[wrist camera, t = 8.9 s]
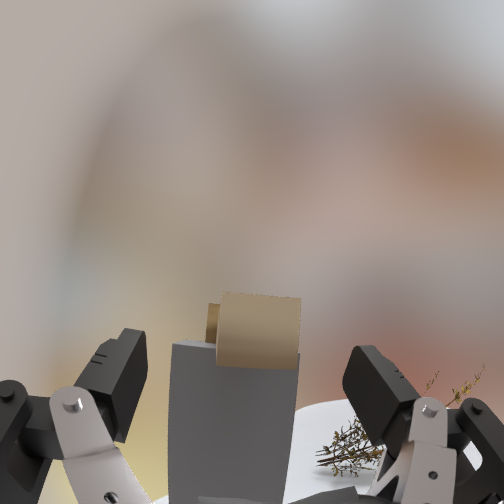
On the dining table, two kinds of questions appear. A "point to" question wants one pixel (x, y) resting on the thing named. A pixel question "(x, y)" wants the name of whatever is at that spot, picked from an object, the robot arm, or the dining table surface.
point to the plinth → (227, 427)
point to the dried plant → (359, 444)
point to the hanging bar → (255, 331)
